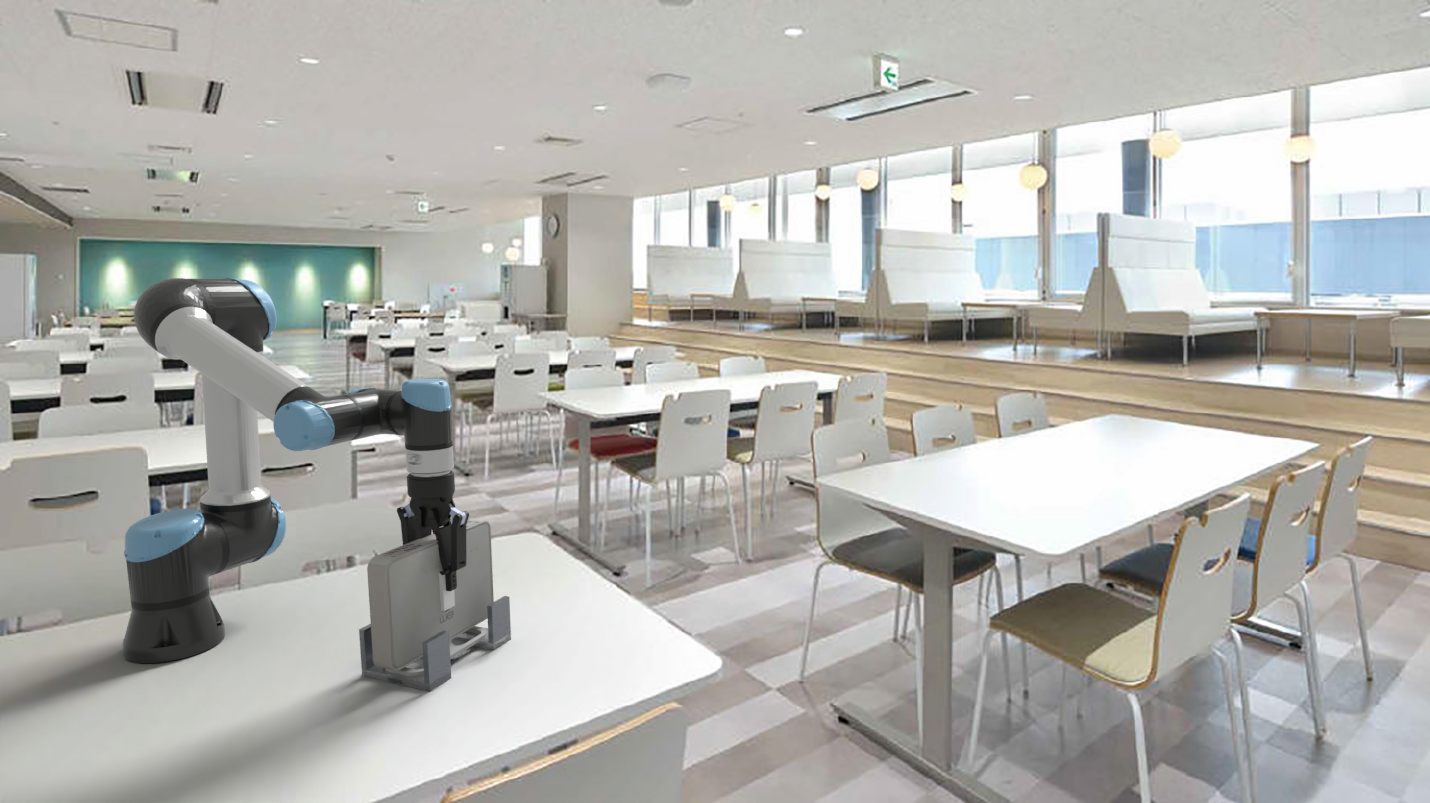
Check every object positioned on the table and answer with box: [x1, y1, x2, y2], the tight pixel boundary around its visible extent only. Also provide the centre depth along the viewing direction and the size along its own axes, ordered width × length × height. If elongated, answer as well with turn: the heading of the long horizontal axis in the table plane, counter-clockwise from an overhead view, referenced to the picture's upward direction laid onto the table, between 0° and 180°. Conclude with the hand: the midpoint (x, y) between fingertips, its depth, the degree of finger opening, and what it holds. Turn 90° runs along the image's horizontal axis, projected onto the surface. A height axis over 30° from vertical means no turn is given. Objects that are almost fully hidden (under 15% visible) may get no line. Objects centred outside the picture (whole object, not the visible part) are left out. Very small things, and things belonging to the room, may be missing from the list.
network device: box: [366, 518, 495, 676], centre depth 140 cm, size 26×9×20 cm, turn 158°
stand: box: [358, 595, 512, 692], centre depth 141 cm, size 14×21×8 cm, turn 158°
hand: (437, 605), depth 140 cm, fingers closed on network device, 4 cm apart
